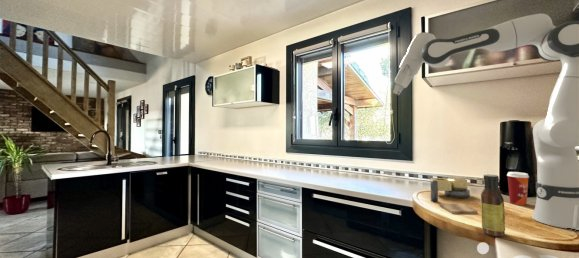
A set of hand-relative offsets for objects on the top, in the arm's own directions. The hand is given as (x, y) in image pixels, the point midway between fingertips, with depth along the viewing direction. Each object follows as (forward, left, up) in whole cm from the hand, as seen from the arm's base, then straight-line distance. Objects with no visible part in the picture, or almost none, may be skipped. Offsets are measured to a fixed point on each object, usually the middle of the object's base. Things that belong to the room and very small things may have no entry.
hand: (395, 94), depth 124 cm
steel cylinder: (-17, +1, -53) cm, 55 cm away
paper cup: (-52, +5, -53) cm, 74 cm away
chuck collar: (-29, -9, -49) cm, 58 cm away
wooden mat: (-21, +13, -53) cm, 58 cm away
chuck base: (-33, -9, -53) cm, 63 cm away
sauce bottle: (-19, +37, -53) cm, 67 cm away
